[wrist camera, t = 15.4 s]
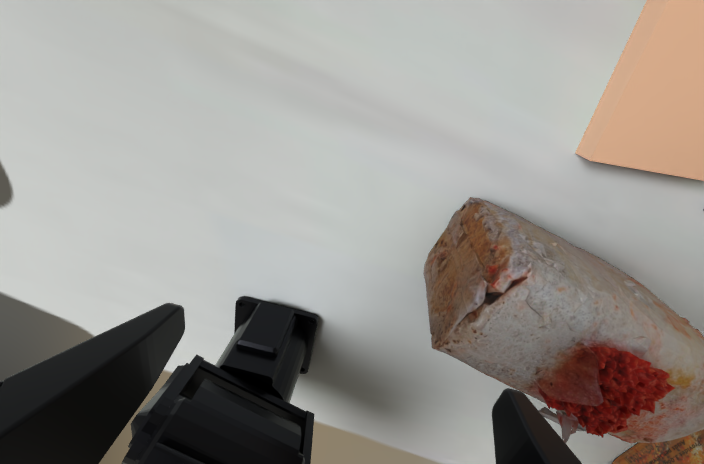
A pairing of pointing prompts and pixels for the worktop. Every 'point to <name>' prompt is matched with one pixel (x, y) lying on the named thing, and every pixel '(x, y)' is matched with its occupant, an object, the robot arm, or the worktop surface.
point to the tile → (655, 96)
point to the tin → (667, 451)
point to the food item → (563, 328)
